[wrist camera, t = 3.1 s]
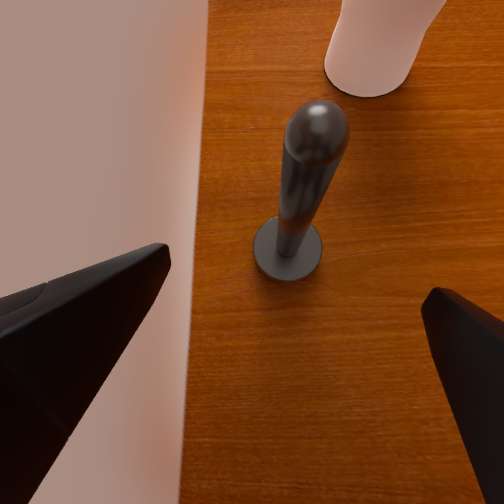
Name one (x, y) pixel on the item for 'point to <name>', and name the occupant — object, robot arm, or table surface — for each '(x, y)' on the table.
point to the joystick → (302, 191)
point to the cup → (377, 43)
